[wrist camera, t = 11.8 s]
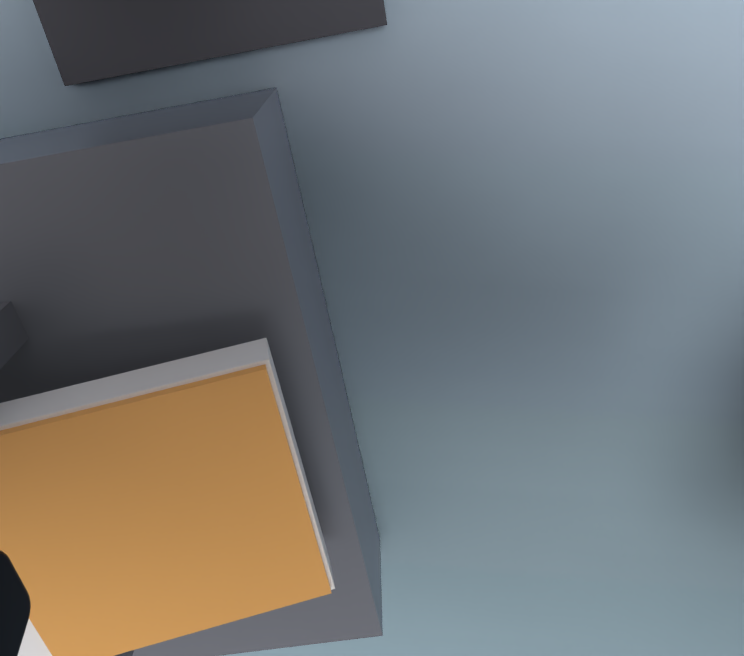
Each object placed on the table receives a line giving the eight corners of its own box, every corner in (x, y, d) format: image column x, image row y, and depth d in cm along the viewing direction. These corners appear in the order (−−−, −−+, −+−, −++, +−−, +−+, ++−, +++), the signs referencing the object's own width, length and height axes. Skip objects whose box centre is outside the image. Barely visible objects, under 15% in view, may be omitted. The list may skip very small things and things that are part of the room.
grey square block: (276, 88, 17) (214, 165, 10) (379, 539, 24) (385, 762, 17) (-297, 193, 18) (-707, 329, 11) (-30, 594, 25) (-176, 823, 19)
